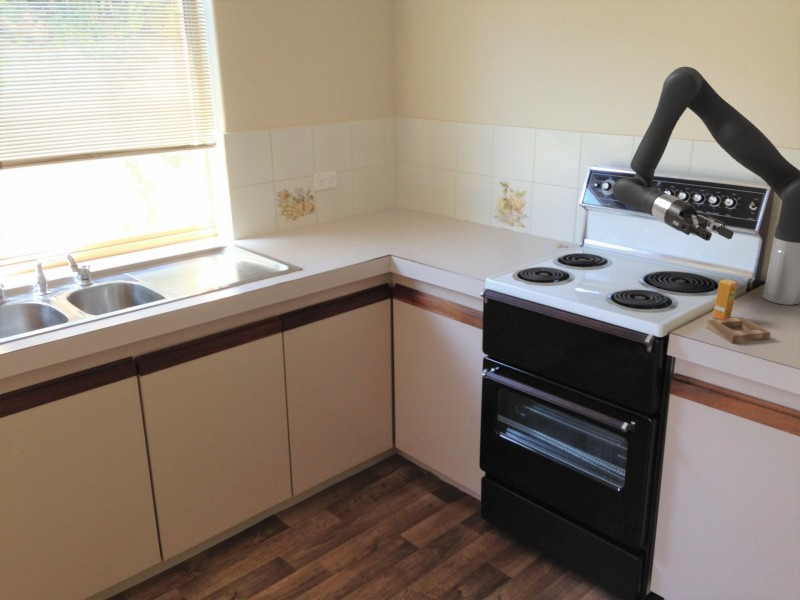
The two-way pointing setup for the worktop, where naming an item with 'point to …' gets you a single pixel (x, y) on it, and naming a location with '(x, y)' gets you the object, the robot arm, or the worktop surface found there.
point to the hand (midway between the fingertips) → (721, 236)
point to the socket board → (748, 335)
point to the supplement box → (725, 299)
